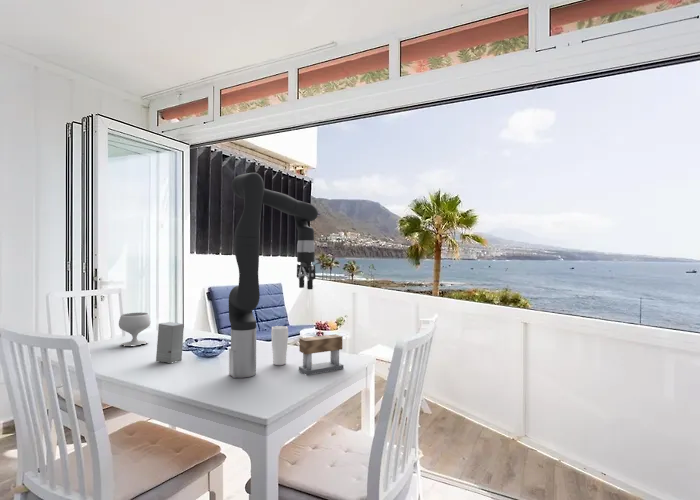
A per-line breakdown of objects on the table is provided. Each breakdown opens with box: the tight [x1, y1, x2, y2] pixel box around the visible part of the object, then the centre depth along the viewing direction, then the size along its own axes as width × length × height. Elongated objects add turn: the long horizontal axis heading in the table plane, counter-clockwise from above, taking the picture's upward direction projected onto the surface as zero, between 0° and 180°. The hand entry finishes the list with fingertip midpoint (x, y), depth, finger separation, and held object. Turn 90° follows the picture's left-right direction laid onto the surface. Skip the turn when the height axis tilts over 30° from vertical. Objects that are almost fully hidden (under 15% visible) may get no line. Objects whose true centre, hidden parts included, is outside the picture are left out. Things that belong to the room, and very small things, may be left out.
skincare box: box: [155, 321, 185, 364], centre depth 172 cm, size 8×7×16 cm
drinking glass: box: [270, 325, 289, 366], centre depth 167 cm, size 7×7×15 cm
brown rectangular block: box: [298, 333, 343, 354], centre depth 159 cm, size 16×6×5 cm, turn 121°
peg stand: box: [298, 350, 345, 376], centre depth 159 cm, size 16×7×8 cm, turn 121°
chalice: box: [118, 312, 151, 347], centre depth 202 cm, size 14×14×15 cm
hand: (305, 288), depth 177 cm, fingers open, 8 cm apart
